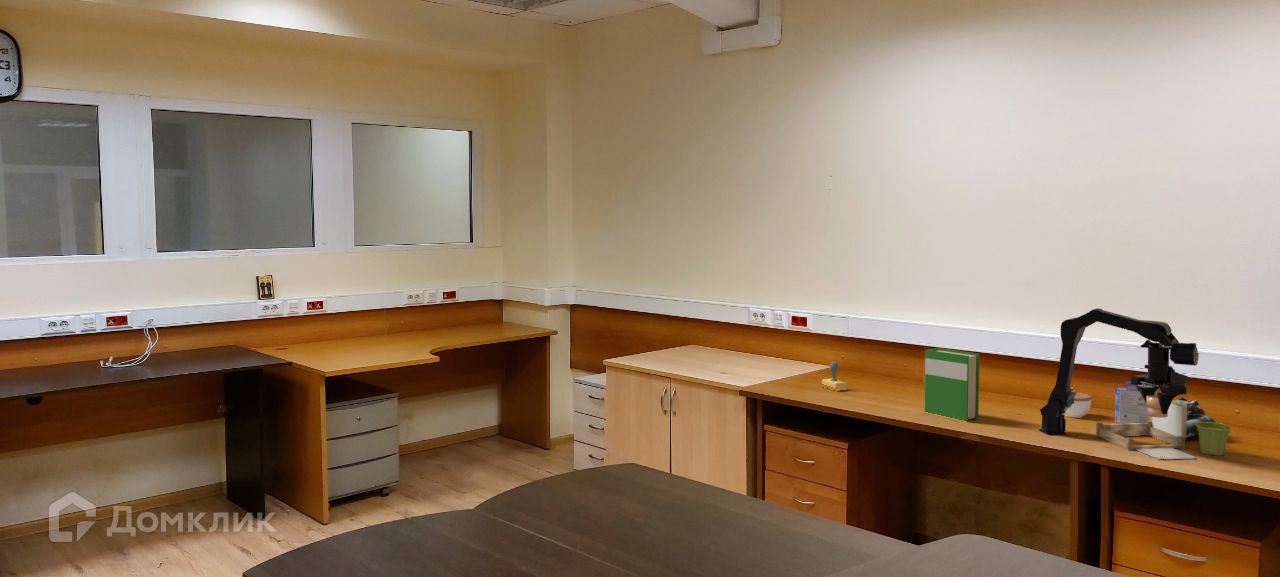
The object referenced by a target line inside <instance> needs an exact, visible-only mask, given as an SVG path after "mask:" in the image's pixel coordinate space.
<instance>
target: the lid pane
mask: <svg viewBox="0 0 1280 577" xmlns="http://www.w3.org/2000/svg"><path fill="white" fill-rule="evenodd" d="M1176 401H1177V400H1174V399H1173V400H1172V402H1171V405H1170V407H1169V409H1168V417H1164V418H1158V417H1151V416H1149V421H1150V422H1152V427H1154V428H1157V429H1159V430H1162V431H1165V432H1167V433H1170V434H1172V435H1175V436H1182V437H1185V440H1186V439H1187V438H1186V423H1187V405H1186V404H1183V403H1179V402H1176Z"/></svg>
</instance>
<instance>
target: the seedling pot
mask: <svg viewBox="0 0 1280 577" xmlns="http://www.w3.org/2000/svg"><path fill="white" fill-rule="evenodd" d="M1157 393H1160V390H1159V389H1157V391H1156V392H1155V395H1147V396H1146V406H1148V416H1149V417H1150V416H1151V417H1158V418H1164V417H1168V412H1167V414H1162V411H1161V407H1160V403H1159V399H1158V396H1157Z"/></svg>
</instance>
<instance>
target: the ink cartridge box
mask: <svg viewBox="0 0 1280 577" xmlns="http://www.w3.org/2000/svg"><path fill="white" fill-rule="evenodd" d="M1136 386H1138V385H1131V381H1128V380H1127V381H1125V387H1115V391H1114V392H1115V394H1114V395H1115V398H1114V399H1115V403H1114V406H1115V407H1114V409H1115V410H1114V412H1115V414H1114V421H1115V422H1116V424H1127V423H1146V421H1150V416H1148V407H1147V406H1146V403H1145V401H1144V399H1143V397H1142V395H1141V394H1140V392H1139V390H1138V389H1137V388H1136Z"/></svg>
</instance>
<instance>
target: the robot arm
mask: <svg viewBox="0 0 1280 577" xmlns="http://www.w3.org/2000/svg"><path fill="white" fill-rule="evenodd" d="M1097 322H1098V323H1101V324H1104V325H1109V326H1112V327H1115V328H1119V329H1123V330H1127V331H1130V332H1133V333H1135V334H1137V335H1139V336H1140V337H1143V338H1144V339H1146V340H1145V341H1144V342H1143V343H1142V344H1140V348H1143V349H1146V348H1147V364H1144V369H1147V374H1142V375H1141V374H1137V375H1135V374H1134V375H1133V376H1132V377H1130V382H1131V383H1130V385H1132V386H1135V385H1137V386H1136V388H1137V389H1138V390H1139V392H1140V394H1141V395H1142V397H1143V399H1144V401H1145V403H1146V396H1147V395H1156V392H1157V390H1159V389H1160V390H1159V391H1160V392H1159V393H1157V396H1158V399H1159V403H1160V407H1161V411H1162V414H1167V412H1168V409H1169V407H1170V405H1171V402H1172V400H1173V401H1174V399H1175V398H1176V397H1177V396H1181V395H1187V394H1188V388H1187V386H1186V382H1187V380H1188V378H1189V376H1188V375H1185V374H1183V373H1180V372H1178V371H1177V372H1176V370H1175V368H1174V367H1173V366H1171V365H1170V361H1171V362H1173V364H1175V365H1183V366H1184V365H1185V366H1197V365H1198V362H1199V352H1198V347H1197V343H1196V342H1188V343H1187V342H1180V341H1179V340H1178V339H1177V338H1176V336H1175V335H1174V334H1173V333H1172V327H1171V326H1170V324H1168V323H1166V322H1164V321H1158V320H1157V321H1156V320H1144V319H1143V320H1142V319H1138V318H1135V317H1131V316H1127V315H1122V314H1118V313H1115V312H1111V311H1108V310H1105V309H1102V308H1099V307H1098V308H1094V309H1091V310H1089V311H1088V312H1086V313H1085V314H1081V315H1080V316H1078V317H1071V318H1068V319H1065V320H1064V321H1062V322H1061V325H1060V338H1061V343H1062V346H1061V353H1060V357H1059V364H1058V369H1057V376H1056V382H1055V384H1054V387H1053V389H1052V391H1051V392H1050V394H1049V398H1048V400H1047V404H1045V405H1044V406H1043V407H1041V408H1040V409H1039V412H1040V415H1041V428H1039V429H1038V430H1039V431H1040V432H1042V433H1044V434H1046V435H1050V436H1053V435H1067V434H1068V433H1067V432H1066V429H1067V428H1066V424H1067V423H1066V422H1067V419H1066V418H1065V417H1066V416H1065V414H1064V413H1065V412H1066V410H1067V409H1069V408H1070V407H1071V405H1072V404H1074V397H1075V394H1076V392H1073V391H1072V388H1071V383H1072V379H1073V378H1072V376H1073V371H1074V367H1075V366H1074V365H1075V360H1076V355H1077V349H1078V345H1079V343H1080V342H1081V340H1082V338H1083V335H1084V333H1085V331H1086V328H1087V327H1091V325H1093V324H1095V323H1097ZM1147 407H1148V406H1147Z"/></svg>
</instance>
